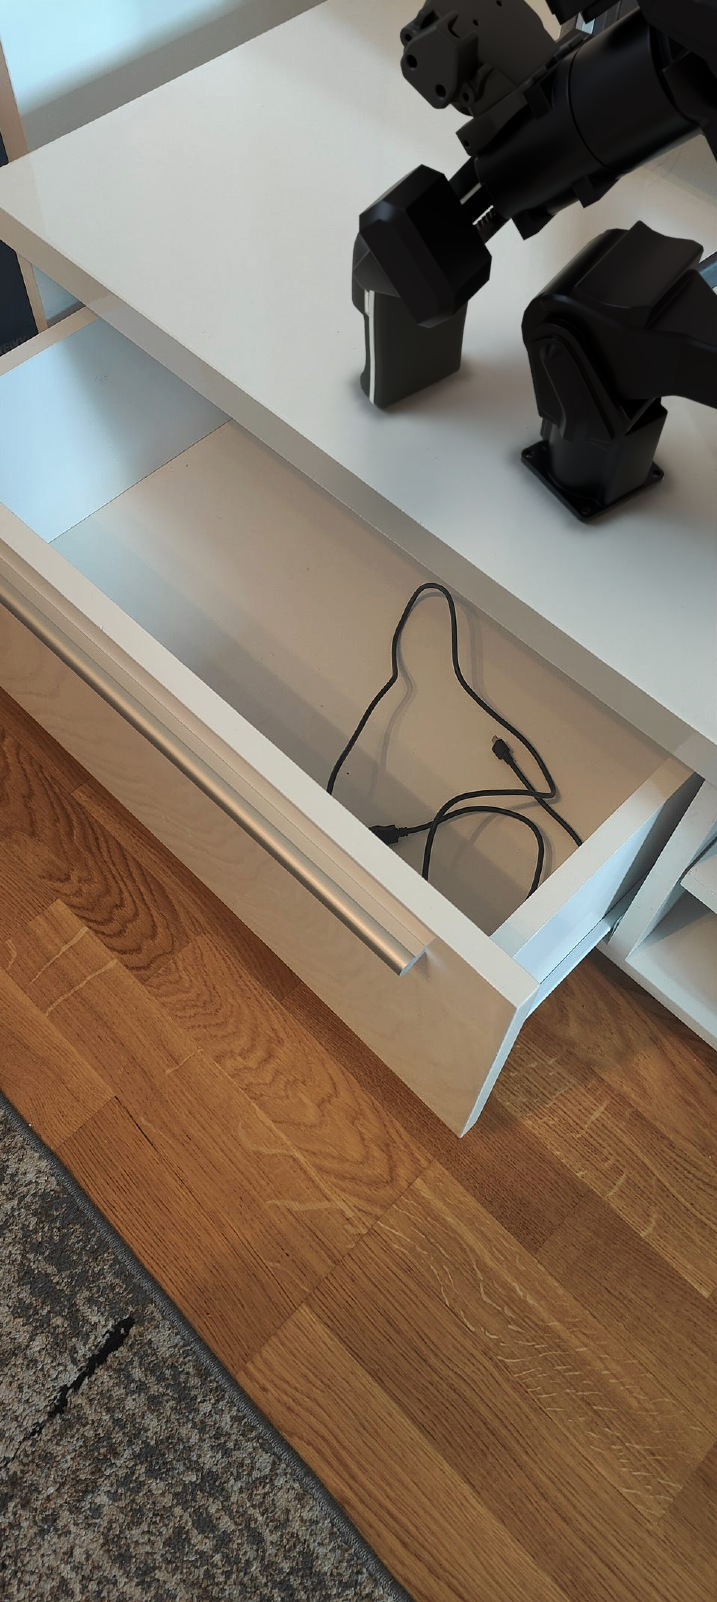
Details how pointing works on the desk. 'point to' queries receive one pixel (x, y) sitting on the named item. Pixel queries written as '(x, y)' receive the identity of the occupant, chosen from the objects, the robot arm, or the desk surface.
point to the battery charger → (402, 344)
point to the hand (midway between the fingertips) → (404, 234)
